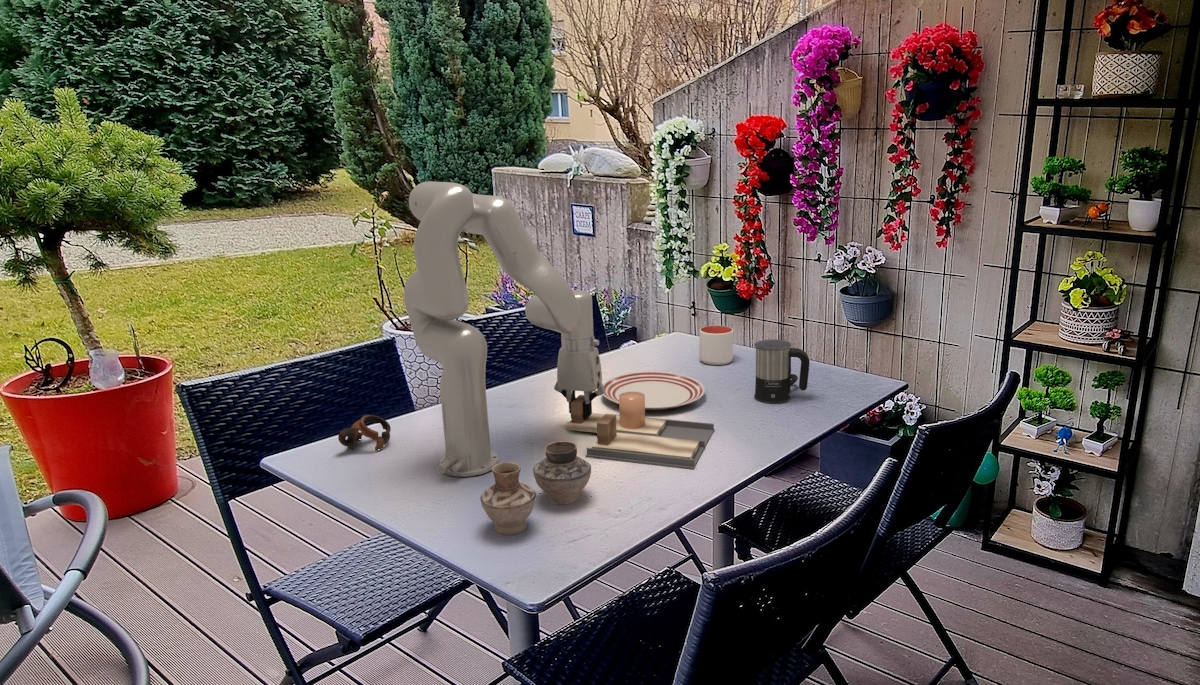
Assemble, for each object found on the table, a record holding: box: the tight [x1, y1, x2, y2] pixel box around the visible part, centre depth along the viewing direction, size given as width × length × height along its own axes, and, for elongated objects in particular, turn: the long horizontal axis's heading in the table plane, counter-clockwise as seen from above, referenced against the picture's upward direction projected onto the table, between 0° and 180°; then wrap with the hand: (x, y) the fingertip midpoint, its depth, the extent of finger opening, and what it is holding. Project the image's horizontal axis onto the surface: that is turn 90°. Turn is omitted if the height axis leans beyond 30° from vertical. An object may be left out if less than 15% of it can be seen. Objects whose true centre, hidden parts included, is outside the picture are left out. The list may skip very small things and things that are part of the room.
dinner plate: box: [602, 370, 706, 411], centre depth 205 cm, size 27×27×3 cm
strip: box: [591, 413, 699, 459], centre depth 170 cm, size 9×22×6 cm, turn 71°
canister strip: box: [565, 394, 666, 436], centre depth 183 cm, size 9×22×6 cm, turn 71°
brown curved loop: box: [337, 414, 392, 451], centre depth 178 cm, size 12×10×8 cm
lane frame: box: [585, 416, 715, 470], centre depth 176 cm, size 22×24×2 cm
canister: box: [618, 392, 646, 429], centre depth 181 cm, size 6×6×7 cm
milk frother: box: [753, 338, 810, 404], centre depth 203 cm, size 14×16×15 cm
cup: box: [698, 325, 734, 366], centre depth 233 cm, size 10×10×10 cm
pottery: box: [479, 440, 592, 536], centre depth 145 cm, size 11×25×12 cm, turn 141°
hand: (580, 416), depth 186 cm, fingers closed on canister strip, 2 cm apart
